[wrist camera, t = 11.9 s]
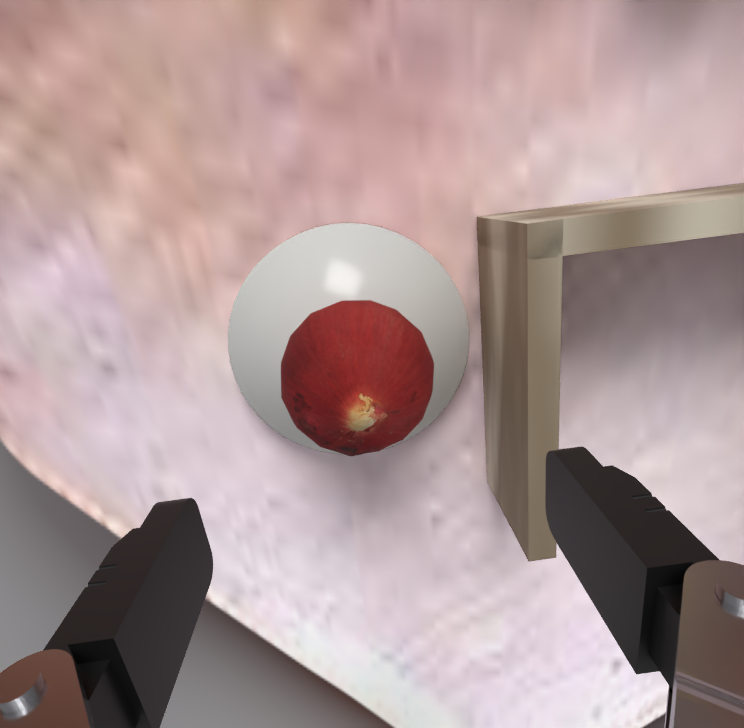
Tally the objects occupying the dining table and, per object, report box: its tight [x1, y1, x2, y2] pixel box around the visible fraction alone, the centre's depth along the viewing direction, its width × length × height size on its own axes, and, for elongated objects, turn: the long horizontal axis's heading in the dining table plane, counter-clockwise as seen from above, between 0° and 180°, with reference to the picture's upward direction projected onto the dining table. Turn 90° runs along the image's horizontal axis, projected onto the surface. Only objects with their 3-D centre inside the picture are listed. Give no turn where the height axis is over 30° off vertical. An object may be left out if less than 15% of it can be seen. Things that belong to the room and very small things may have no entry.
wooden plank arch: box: [477, 183, 744, 561], centre depth 21 cm, size 19×14×6 cm
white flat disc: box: [228, 222, 469, 454], centre depth 22 cm, size 11×11×1 cm
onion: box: [281, 300, 434, 456], centre depth 18 cm, size 6×6×8 cm
